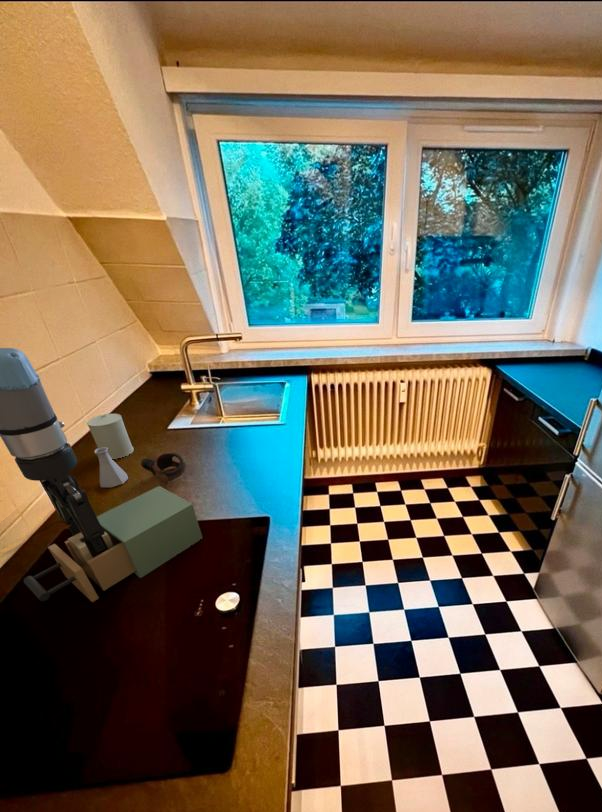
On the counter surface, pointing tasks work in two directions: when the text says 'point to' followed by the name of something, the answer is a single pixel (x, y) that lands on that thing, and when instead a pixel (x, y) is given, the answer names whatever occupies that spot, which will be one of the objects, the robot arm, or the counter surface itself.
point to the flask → (109, 469)
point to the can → (111, 434)
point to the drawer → (86, 570)
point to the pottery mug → (165, 466)
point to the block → (82, 548)
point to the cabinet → (153, 528)
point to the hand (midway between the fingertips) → (97, 554)
